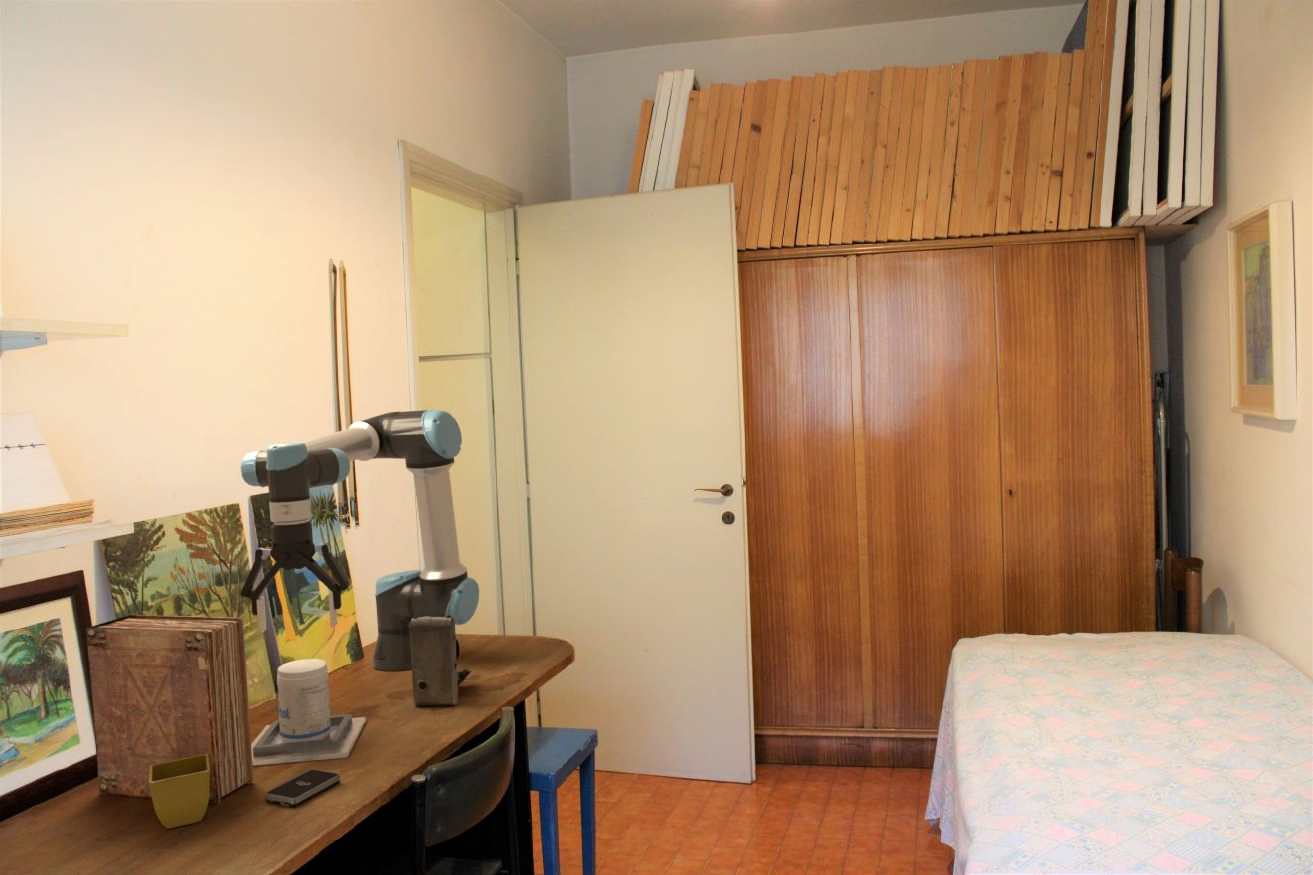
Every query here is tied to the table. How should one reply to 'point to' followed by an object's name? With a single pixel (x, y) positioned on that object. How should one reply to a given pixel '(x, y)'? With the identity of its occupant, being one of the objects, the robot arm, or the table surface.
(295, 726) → the supplement tub
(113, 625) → the book
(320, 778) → the external hard drive
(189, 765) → the flower pot
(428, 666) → the vintage camera
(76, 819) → the table surface
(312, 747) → the mounting plate
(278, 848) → the table surface
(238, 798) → the table surface
